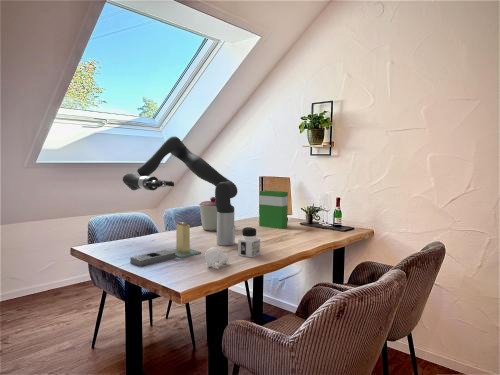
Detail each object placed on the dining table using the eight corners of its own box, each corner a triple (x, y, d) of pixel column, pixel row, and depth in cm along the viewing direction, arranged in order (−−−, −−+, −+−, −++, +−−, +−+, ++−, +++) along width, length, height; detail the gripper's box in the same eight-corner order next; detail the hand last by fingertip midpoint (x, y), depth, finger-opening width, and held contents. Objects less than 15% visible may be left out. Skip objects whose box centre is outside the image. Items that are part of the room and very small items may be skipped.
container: (251, 257, 166) (252, 230, 165) (237, 255, 170) (238, 228, 169) (260, 254, 173) (260, 227, 172) (246, 251, 177) (246, 225, 176)
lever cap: (183, 250, 176) (183, 221, 174) (189, 252, 172) (189, 222, 171) (176, 251, 173) (176, 222, 172) (182, 253, 169) (182, 223, 168)
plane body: (165, 254, 169) (165, 249, 169) (175, 258, 164) (175, 252, 164) (130, 262, 156) (130, 257, 156) (140, 266, 151) (140, 260, 151)
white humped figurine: (203, 247, 150) (222, 244, 159) (202, 267, 150) (221, 263, 159) (214, 249, 146) (233, 246, 156) (213, 270, 146) (232, 266, 156)
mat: (185, 249, 181) (185, 247, 181) (201, 253, 173) (201, 251, 173) (165, 253, 172) (165, 251, 172) (180, 258, 164) (180, 256, 164)
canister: (211, 225, 245) (211, 194, 243) (232, 229, 234) (232, 196, 233) (192, 229, 230) (192, 197, 229) (214, 233, 220) (214, 199, 218)
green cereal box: (259, 226, 246) (259, 191, 244) (264, 224, 252) (265, 190, 250) (281, 229, 236) (282, 192, 234) (287, 227, 242) (287, 191, 240)
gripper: (136, 176, 188) (154, 177, 177) (159, 175, 198) (177, 176, 188) (136, 190, 188) (154, 192, 178) (159, 189, 199) (178, 191, 188)
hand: (166, 184), depth 183 cm, fingers open, 8 cm apart
